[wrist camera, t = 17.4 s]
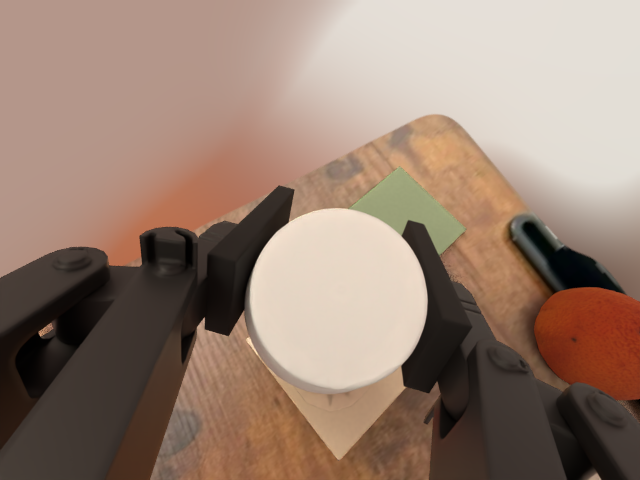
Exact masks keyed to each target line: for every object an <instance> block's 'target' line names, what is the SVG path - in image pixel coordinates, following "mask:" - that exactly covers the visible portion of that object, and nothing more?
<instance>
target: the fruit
mask: <svg viewBox="0 0 640 480" xmlns="http://www.w3.org/2000/svg"><path fill="white" fill-rule="evenodd" d="M534 332H535V337H536V340H537V344H538V348H539V351H540V354H541V355H542V357H543V358H544V359H545V361H546V362H547V364H548V366H549V367H550V368H551V370H552V371H553V372H554V373H555V374H556V375H557V376H558V377H559V378H561V379H562V380H564V381H565V382H567V383H569V384H570V385H572V384H574V383H576V382H579V383H585V384H588V385H590V386H593V387H595V388H597V389H600V390H601V391H603V392H605V393H606V394H608V395H610V396H611V397H613V398H614V399H615V400H633V399H640V302H639V301H637V300H635V299H633V298H631V297H629V296H627V295H624V294H622V293H618V292H615V291H611V290H606V289H602V288H592V287H586V288H574V289H568V290H563V291H559V292H557V293H555V294H554V295H552V296H551V297H550V298H549V299H548V300H547V301H546V302H545V303H544V305H543V306H542V307H541V309H540V312H539V314H538V316H537V318H536V320H535V326H534Z"/></svg>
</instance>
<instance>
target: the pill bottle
mask: <svg viewBox="0 0 640 480" xmlns="http://www.w3.org/2000/svg"><path fill="white" fill-rule="evenodd" d="M427 303H428V298H427V289H426V283H425V278H424V275H423V271H422V268H421V266H420V264H419V261H418V259H417V257H416V256H415V254H414V252H413V250H412V249H411V247H410V246H409V245H408V243H407V242H406V241H405V240H404V239H403V238H402V236H401V235H400V234H399V233H397V232H396V231H395V230H394V229H393V228H392V227H390V226H389V225H387V224H386V223H384V222H383V221H381V220H379V219H378V218H376V217H373V216H371V215H368V214H366V213H363V212H360V211H356V210H350V209H344V208H331V209H323V210H317V211H313V212H310V213H307V214H304V215H302V216H300V217H298V218H296V219H294V220H292V221H291V222H289V223H288V224H286V225H285V226H284V227H282V228H281V229H280V230H278V231H277V232H276V233H275V234H274V235H273V237H272V238H271V239H270V240H269V241H268V243H267V244H266V246H265V247H264V249H263V250H262V252H261V254H260V256H259V257H258V259H257V262H256V264H255V266H254V268H253V269H252V272H251V274H250V277H249V280H248V283H247V287H246V293H245V302H244V311H245V320H246V326H247V330H248V333H249V336H250V339H251V341H252V343H253V345H254V348H255V349H256V351H257V353H258V355H259V356H260V358H261V359H262V360H263V362H264V363H265V364H266V365H267V367H268V368H269V369H270V370H272V371H273V372H274V373H275V374H276V375H277V376H278V377H280V378H281V379H282V380H284V381H286V382H287V383H289V384H291V385H293V386H295V387H297V388H299V389H302V390H305V391H308V392H313V393H320V394H338V393H345V392H349V391H353V390H356V389H359V388H362V387H365V386H368V385H371V384H374V383H376V382H378V381H380V380H382V379H384V378H386V377H387V376H389V375H390V374H392V373H393V372H394V371H395V370H397V369H398V368H399V367H400V366H401V365H402V364H403V363H404V362H405V361H406V360H407V359H408V358H409V356H410V355H411V354H412V352H413V350H414V349H415V347H416V345H417V343H418V342H419V339H420V336H421V334H422V331H423V329H424V325H425V321H426V316H427Z"/></svg>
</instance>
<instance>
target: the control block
mask: <svg viewBox="0 0 640 480" xmlns="http://www.w3.org/2000/svg"><path fill="white" fill-rule="evenodd" d="M246 342H247V343H248V344H249V346H250V347H251V348H252V349H253V351H254V352H255V353H256V355H257V356H258V357H259V359H260V360H261V361H262V362H263V360H262V359H261V358H260V356H259V355H258V353H257V351H256V349H255V348H254V345H253V343H252V341H251V339H250V336H249V337H247V338H246ZM263 364H264V365H265V366H266V368H267V369H268V370H269V372H270V373H271V374H272V375H273V377H274V378H275V379H276V381H277V382H278V383H279V385H280V386H281V387H282V388H283V390H284V391H285V392H286V394H287V395H288V396H289V398H290V399H291V400H292V401H293V403H294V404H295V405H296V407H297V408H298V409H299V411H300V412H301V413H302V415H303V416H304V417H305V418H306V420H307V421H308V422H309V424H310V425H311V426H312V428H313V429H314V430H315V431H316V433H317V434H318V435H319V437H320V438H321V439H322V441H323V442H324V443H325V444H326V446H327V447H328V448H329V450H330V451H331V452H332V454H333V455H334V456H335V457H336V459H337V460H338V461H340V459H341V458H342V457H343V456H344V455H345V454H346V453H347V452H348V451H349V450H350V448H351V447H352V446H353V445H354V444H355V443H356V442H357V441H358V440H359V439H360V437H361V436H362V435H363V434H364V433H365V432H366V431H367V430H368V429H369V428H370V427H371V425H372V424H373V423H374V422H375V421H376V420H377V419H378V418H379V417H380V416H381V414H382V413H383V412H384V411H385V410H386V409H387V408H388V407H389V406H390V405H391V403H392V402H393V401H394V400H395V399H396V398H397V397H398V396H399V395H400V394H401V392H402V391H403V390H404V389H405V388H406V387H405V386H404V385H403V377H402V369H401V366H400V367H399V368H398V369H397V370H395V371H394V372H393V373H392V374H390V375H389V376H387V377H386V378H384V379H382V380H380V381H378V382H376V383H374V384H371V385H368V386H365V387H362V388H359V389H356V390H353V391H349V392H345V393H338V394H320V393H313V392H308V391H305V390H302V389H299V388H297V387H295V386H293V385H291V384H289V383H287V382H286V381H284V380H282V379H281V378H280V377H278V376H277V375H276V374H275V373H274V372H273V371H272V370H270V369H269V368H268V367H267V365H266V364H265V363H264V362H263Z"/></svg>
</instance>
